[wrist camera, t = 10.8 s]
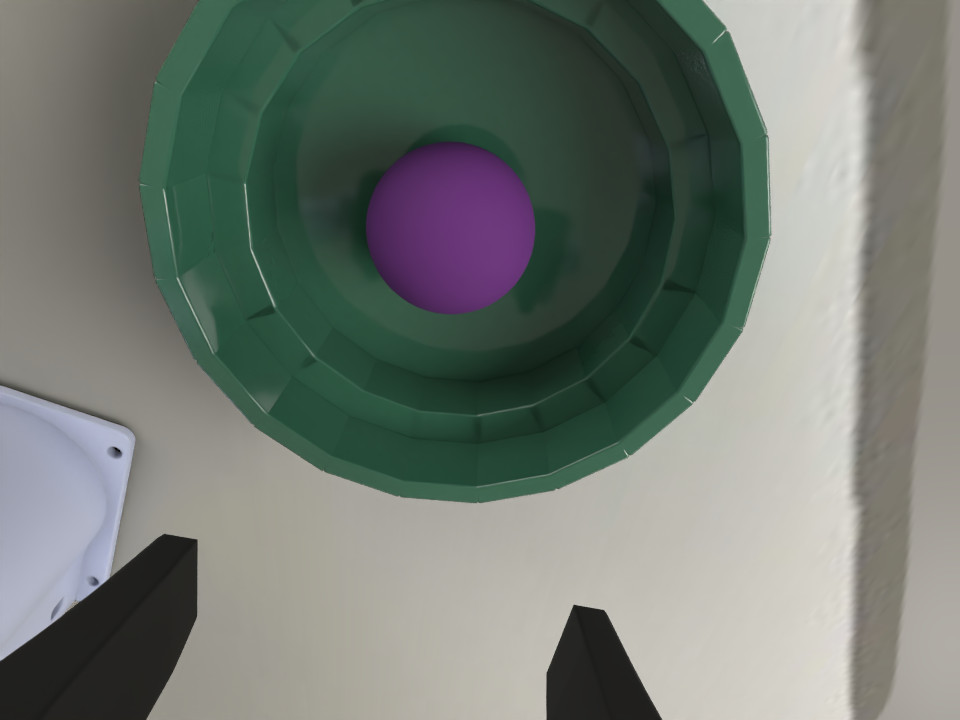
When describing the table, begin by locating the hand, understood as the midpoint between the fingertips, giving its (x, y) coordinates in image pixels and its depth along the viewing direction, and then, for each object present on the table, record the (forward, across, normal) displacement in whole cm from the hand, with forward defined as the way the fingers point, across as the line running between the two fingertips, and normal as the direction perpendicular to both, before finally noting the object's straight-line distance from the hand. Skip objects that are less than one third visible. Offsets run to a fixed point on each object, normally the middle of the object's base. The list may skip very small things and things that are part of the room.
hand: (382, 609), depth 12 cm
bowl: (+10, 0, -5) cm, 12 cm away
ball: (+8, 0, -6) cm, 9 cm away
